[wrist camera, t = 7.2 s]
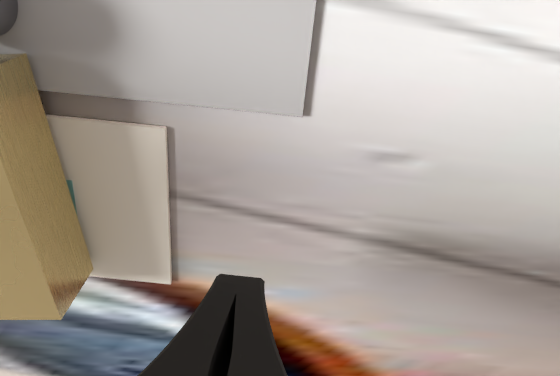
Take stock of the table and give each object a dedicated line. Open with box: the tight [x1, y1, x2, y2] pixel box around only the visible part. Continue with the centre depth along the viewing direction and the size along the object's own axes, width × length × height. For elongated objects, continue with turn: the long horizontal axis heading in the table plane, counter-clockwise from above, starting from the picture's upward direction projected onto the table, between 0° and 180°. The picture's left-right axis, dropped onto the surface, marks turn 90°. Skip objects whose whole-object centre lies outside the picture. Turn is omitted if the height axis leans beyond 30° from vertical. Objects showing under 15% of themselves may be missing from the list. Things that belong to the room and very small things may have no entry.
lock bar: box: [0, 53, 93, 320], centre depth 16 cm, size 9×2×3 cm, turn 3°
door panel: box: [0, 0, 316, 284], centre depth 15 cm, size 16×14×4 cm
